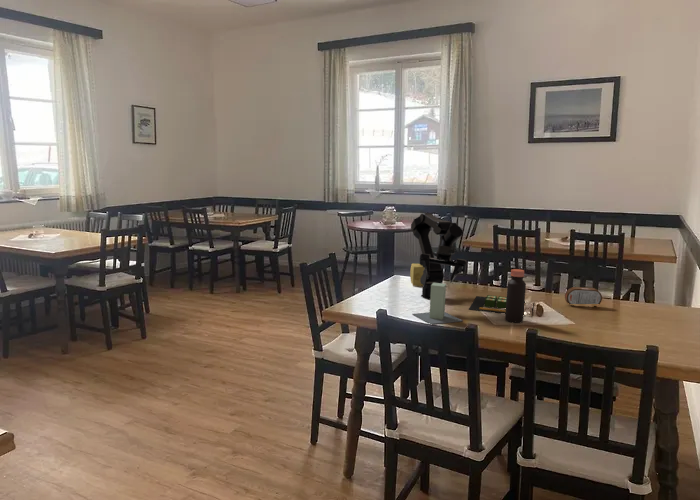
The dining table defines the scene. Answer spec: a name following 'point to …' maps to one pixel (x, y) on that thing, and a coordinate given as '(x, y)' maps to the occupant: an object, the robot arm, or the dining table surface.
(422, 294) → the robot arm
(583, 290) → the tin
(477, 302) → the sushi
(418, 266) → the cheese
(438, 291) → the block
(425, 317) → the mat
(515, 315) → the bottle
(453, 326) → the dining table surface
